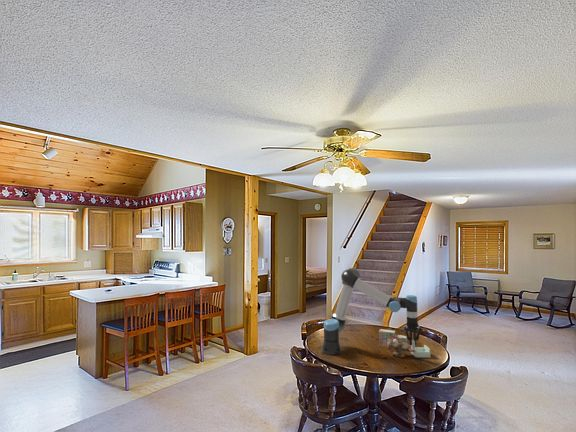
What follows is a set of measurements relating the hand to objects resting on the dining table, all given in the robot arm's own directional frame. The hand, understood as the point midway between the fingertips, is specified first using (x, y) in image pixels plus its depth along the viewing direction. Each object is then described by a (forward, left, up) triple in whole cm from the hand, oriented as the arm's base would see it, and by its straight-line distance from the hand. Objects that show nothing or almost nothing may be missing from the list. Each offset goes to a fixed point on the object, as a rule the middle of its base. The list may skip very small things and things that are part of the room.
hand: (413, 349), depth 244 cm
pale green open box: (+8, +7, -6) cm, 12 cm away
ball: (-11, +7, +4) cm, 13 cm away
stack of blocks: (-8, +24, -7) cm, 26 cm away
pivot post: (-8, +7, -6) cm, 12 cm away
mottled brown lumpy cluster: (-8, +4, -3) cm, 10 cm away
